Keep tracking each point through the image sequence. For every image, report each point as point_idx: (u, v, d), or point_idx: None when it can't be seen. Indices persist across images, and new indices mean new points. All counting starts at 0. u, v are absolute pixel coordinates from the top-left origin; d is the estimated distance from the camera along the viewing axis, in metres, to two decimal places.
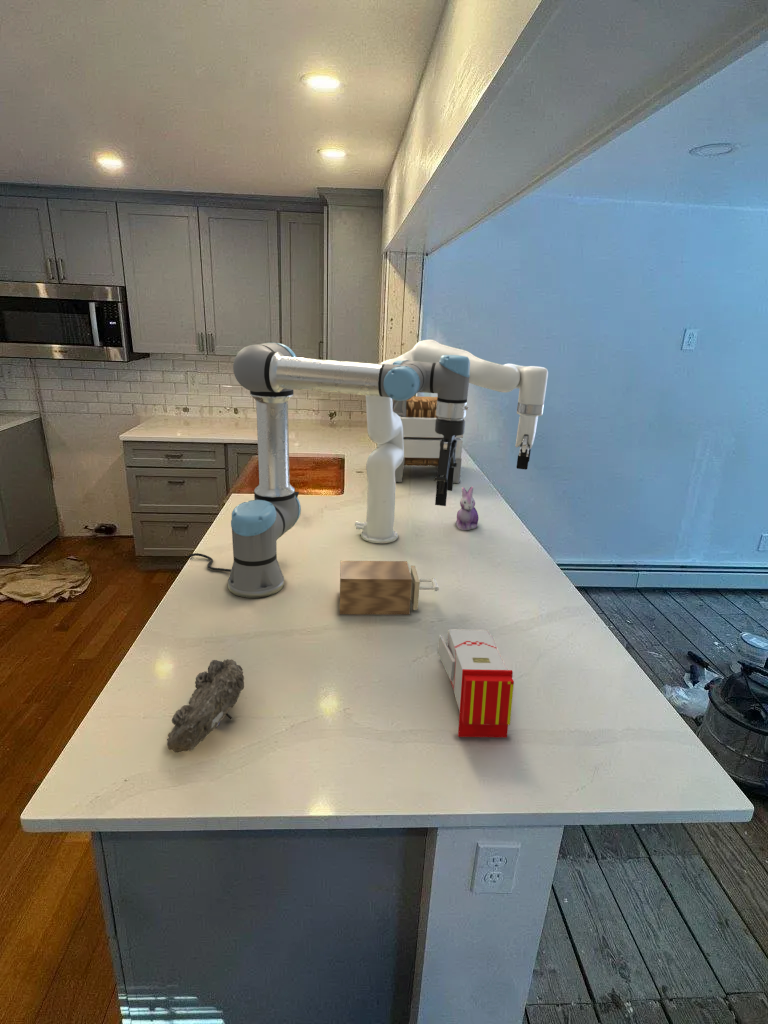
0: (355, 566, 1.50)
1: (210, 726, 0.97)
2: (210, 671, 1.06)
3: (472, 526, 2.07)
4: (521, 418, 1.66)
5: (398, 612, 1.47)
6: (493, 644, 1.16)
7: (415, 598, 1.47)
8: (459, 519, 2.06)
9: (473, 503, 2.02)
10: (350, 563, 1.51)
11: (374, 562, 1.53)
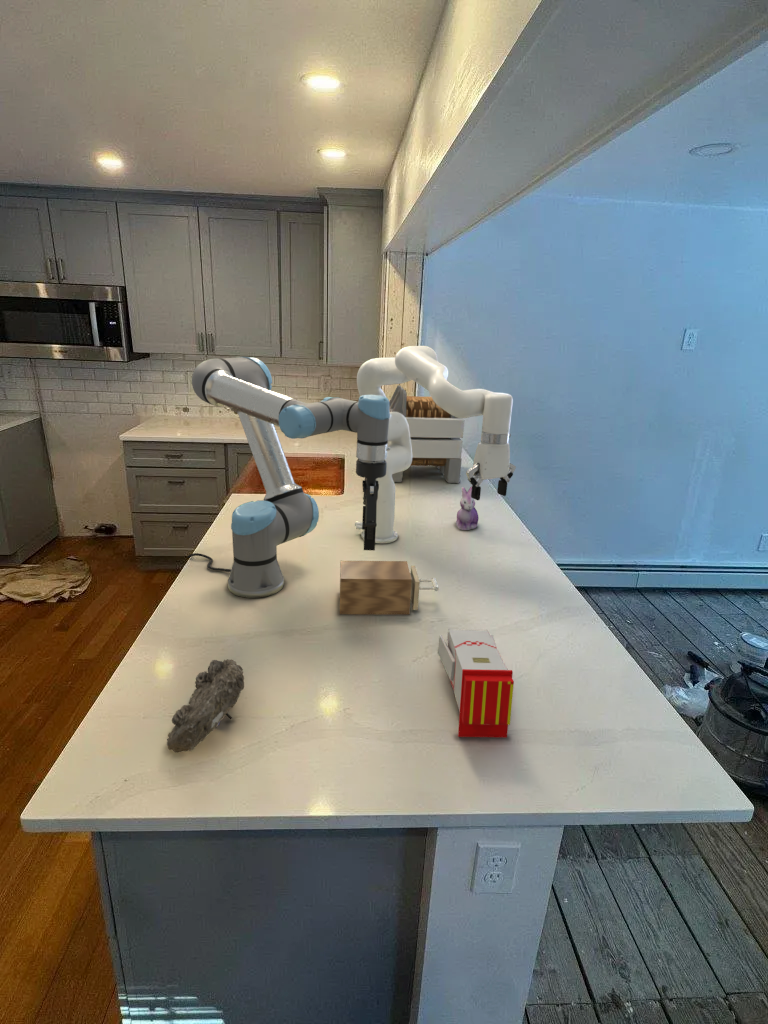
0: (355, 566, 1.50)
1: (210, 726, 0.97)
2: (210, 671, 1.06)
3: (472, 526, 2.07)
4: (477, 445, 1.58)
5: (398, 612, 1.47)
6: (493, 644, 1.16)
7: (415, 598, 1.47)
8: (459, 519, 2.06)
9: (473, 503, 2.02)
10: (350, 563, 1.51)
11: (374, 562, 1.53)
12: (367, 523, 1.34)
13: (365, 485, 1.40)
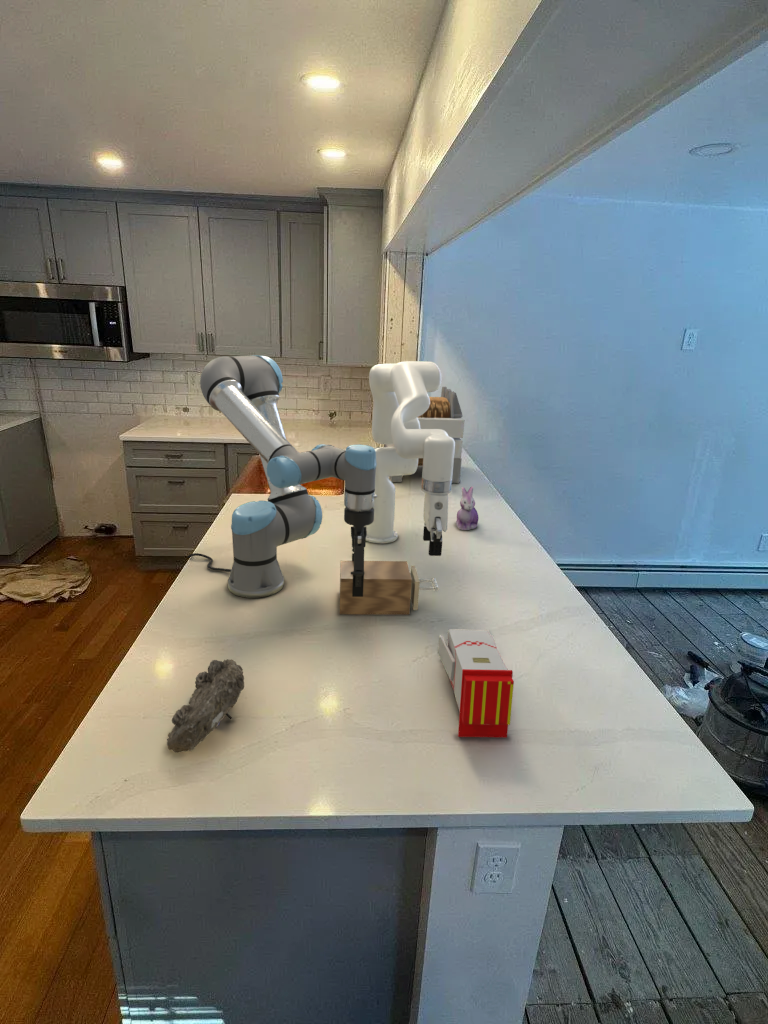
0: None
1: (210, 726, 0.97)
2: (210, 671, 1.06)
3: (472, 526, 2.07)
4: None
5: (398, 612, 1.47)
6: (493, 644, 1.16)
7: (415, 598, 1.47)
8: (459, 519, 2.06)
9: (473, 503, 2.02)
10: (350, 563, 1.51)
11: (374, 562, 1.53)
12: (355, 572, 1.38)
13: (353, 532, 1.42)
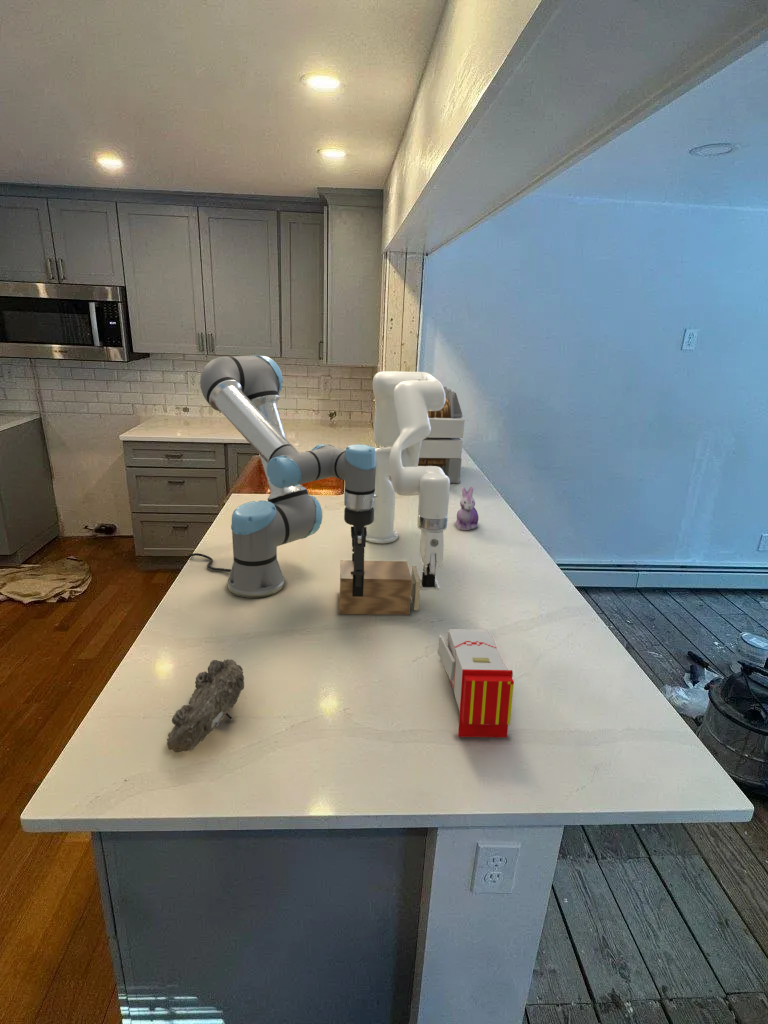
0: None
1: (210, 726, 0.97)
2: (210, 671, 1.06)
3: (472, 526, 2.07)
4: None
5: (398, 612, 1.47)
6: (493, 644, 1.16)
7: (416, 598, 1.47)
8: (459, 519, 2.06)
9: (473, 503, 2.02)
10: (350, 563, 1.51)
11: (374, 562, 1.53)
12: (355, 572, 1.38)
13: (353, 532, 1.42)
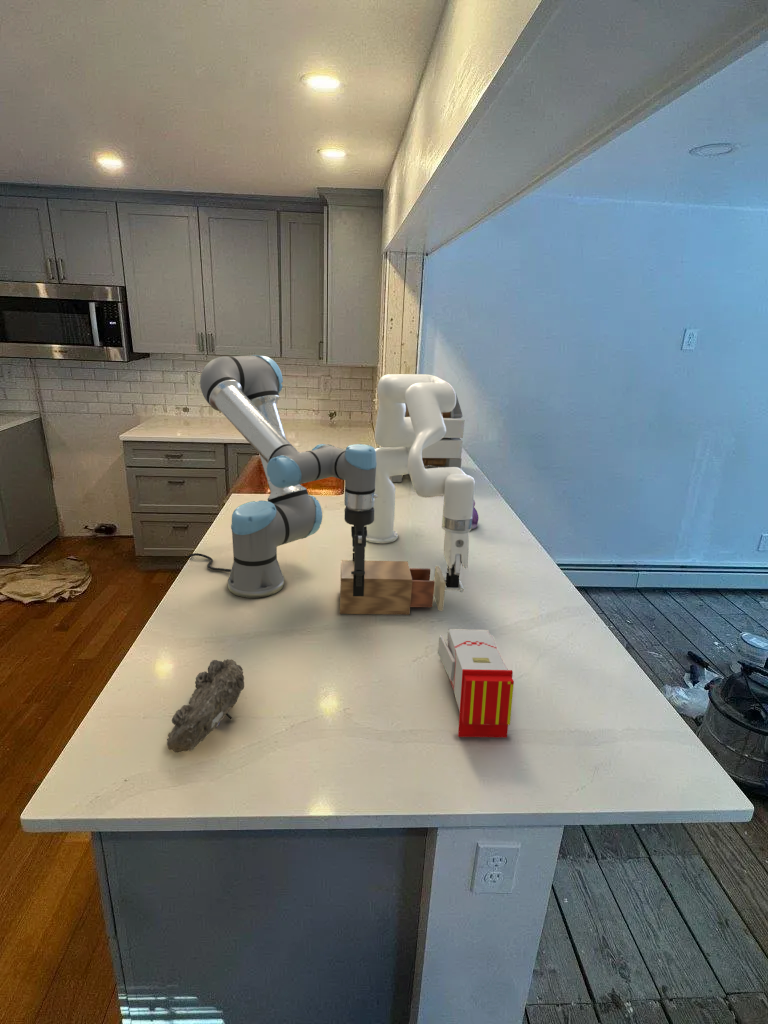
0: None
1: (210, 726, 0.97)
2: (210, 671, 1.06)
3: (472, 526, 2.07)
4: None
5: (398, 612, 1.47)
6: (493, 644, 1.16)
7: (441, 599, 1.47)
8: None
9: (473, 503, 2.02)
10: (351, 562, 1.51)
11: (375, 562, 1.53)
12: (355, 572, 1.38)
13: (353, 532, 1.42)
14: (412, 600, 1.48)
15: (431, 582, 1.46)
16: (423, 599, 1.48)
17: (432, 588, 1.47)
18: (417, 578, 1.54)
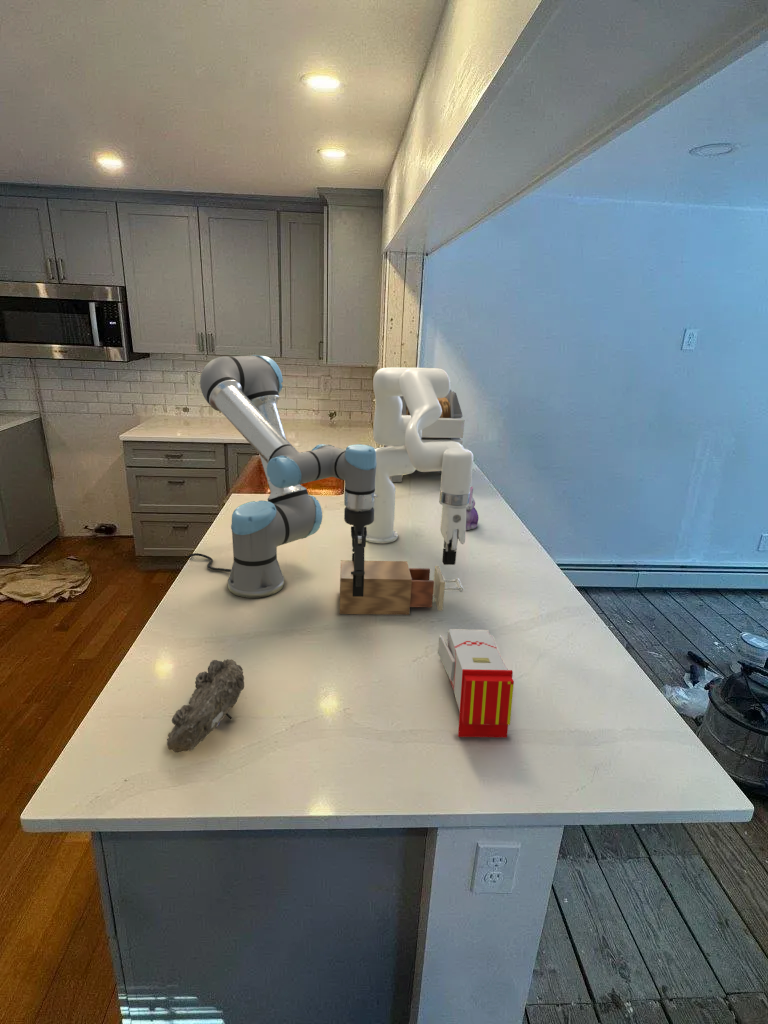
0: None
1: (210, 726, 0.97)
2: (210, 671, 1.06)
3: (472, 526, 2.07)
4: None
5: (398, 612, 1.47)
6: (493, 644, 1.16)
7: (440, 598, 1.47)
8: None
9: (473, 503, 2.02)
10: (350, 563, 1.51)
11: (374, 562, 1.53)
12: (355, 572, 1.38)
13: (353, 532, 1.42)
14: (412, 600, 1.48)
15: (430, 582, 1.46)
16: (423, 599, 1.48)
17: (432, 588, 1.47)
18: (417, 578, 1.54)
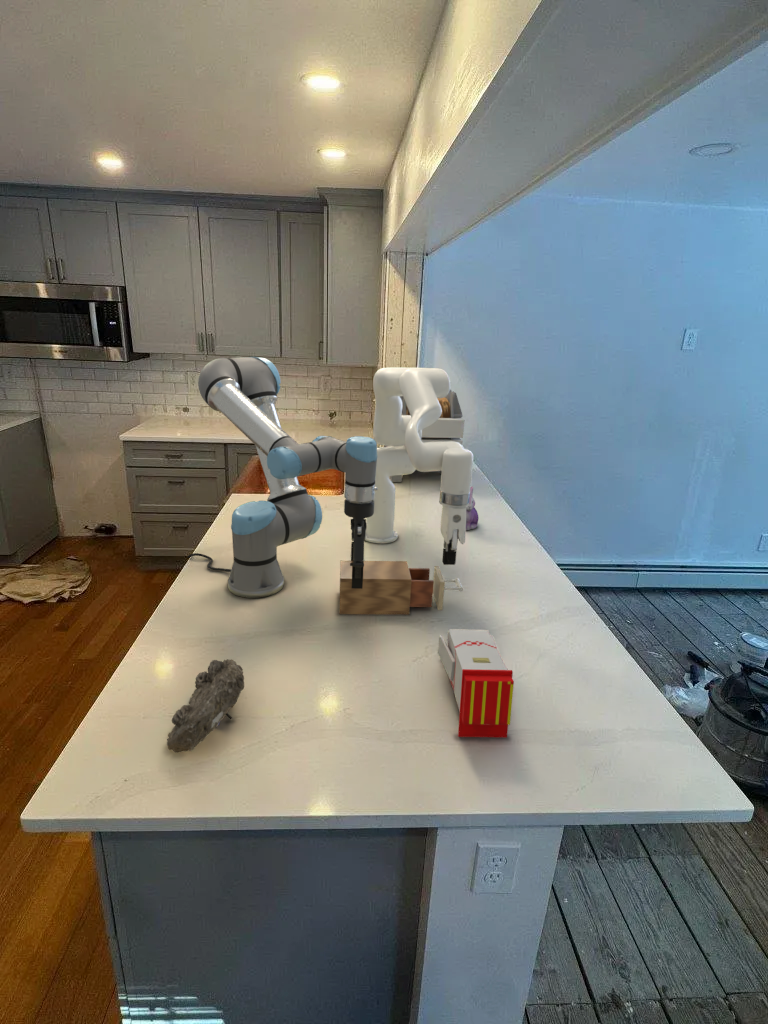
0: None
1: (210, 726, 0.97)
2: (210, 671, 1.06)
3: (472, 526, 2.07)
4: None
5: (398, 612, 1.47)
6: (493, 644, 1.16)
7: (440, 598, 1.47)
8: None
9: (473, 503, 2.02)
10: None
11: (374, 562, 1.53)
12: (355, 563, 1.37)
13: (353, 524, 1.42)
14: (412, 600, 1.48)
15: (430, 582, 1.46)
16: (422, 599, 1.48)
17: (431, 588, 1.47)
18: (416, 578, 1.54)
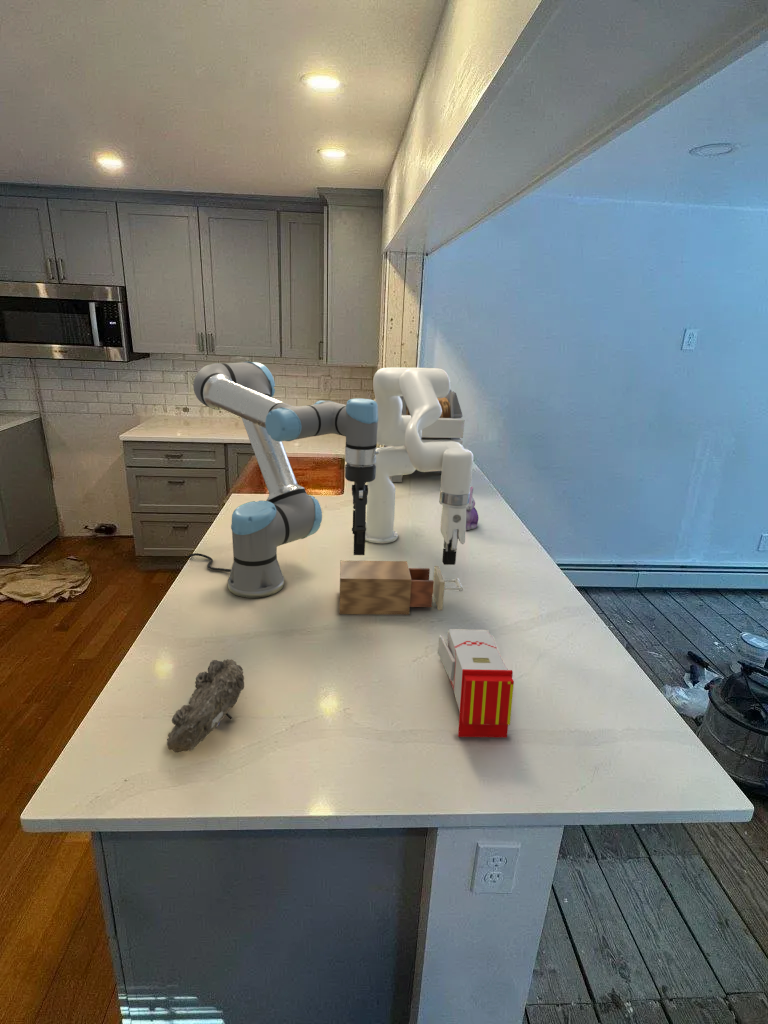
0: (355, 566, 1.50)
1: (210, 726, 0.97)
2: (210, 671, 1.06)
3: (472, 526, 2.07)
4: None
5: (398, 612, 1.47)
6: (493, 644, 1.16)
7: (440, 598, 1.47)
8: None
9: (473, 503, 2.02)
10: (350, 563, 1.51)
11: (374, 562, 1.53)
12: (356, 528, 1.33)
13: (354, 489, 1.39)
14: (412, 600, 1.48)
15: (430, 582, 1.46)
16: (422, 599, 1.48)
17: (431, 588, 1.47)
18: (416, 578, 1.54)
